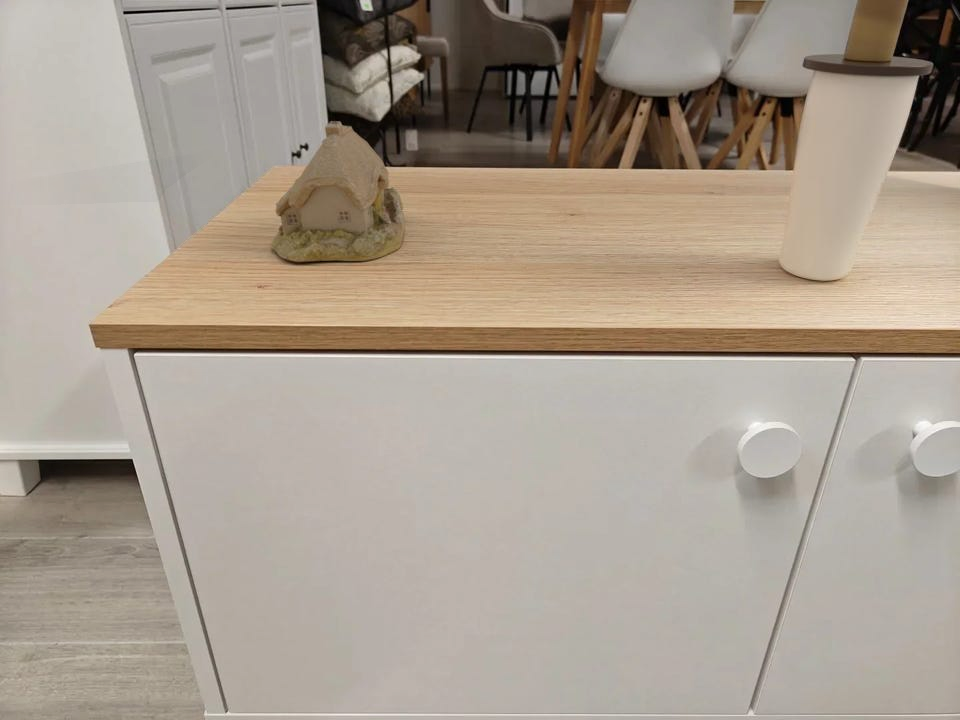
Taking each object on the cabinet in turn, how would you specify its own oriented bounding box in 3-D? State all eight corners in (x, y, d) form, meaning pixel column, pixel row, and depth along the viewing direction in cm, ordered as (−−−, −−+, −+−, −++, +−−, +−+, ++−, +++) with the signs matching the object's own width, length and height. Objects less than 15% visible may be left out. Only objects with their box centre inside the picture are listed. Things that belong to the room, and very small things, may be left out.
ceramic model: (390, 268, 54) (381, 140, 49) (255, 263, 55) (234, 137, 50) (419, 215, 67) (415, 109, 62) (309, 211, 67) (296, 106, 63)
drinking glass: (804, 291, 51) (861, 76, 43) (750, 259, 56) (792, 65, 49) (879, 282, 52) (945, 73, 45) (818, 252, 58) (869, 63, 50)
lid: (829, 60, 52) (851, -32, 49) (946, 69, 47) (979, -32, 44) (782, 68, 47) (803, -33, 44) (907, 79, 42) (940, -34, 39)
